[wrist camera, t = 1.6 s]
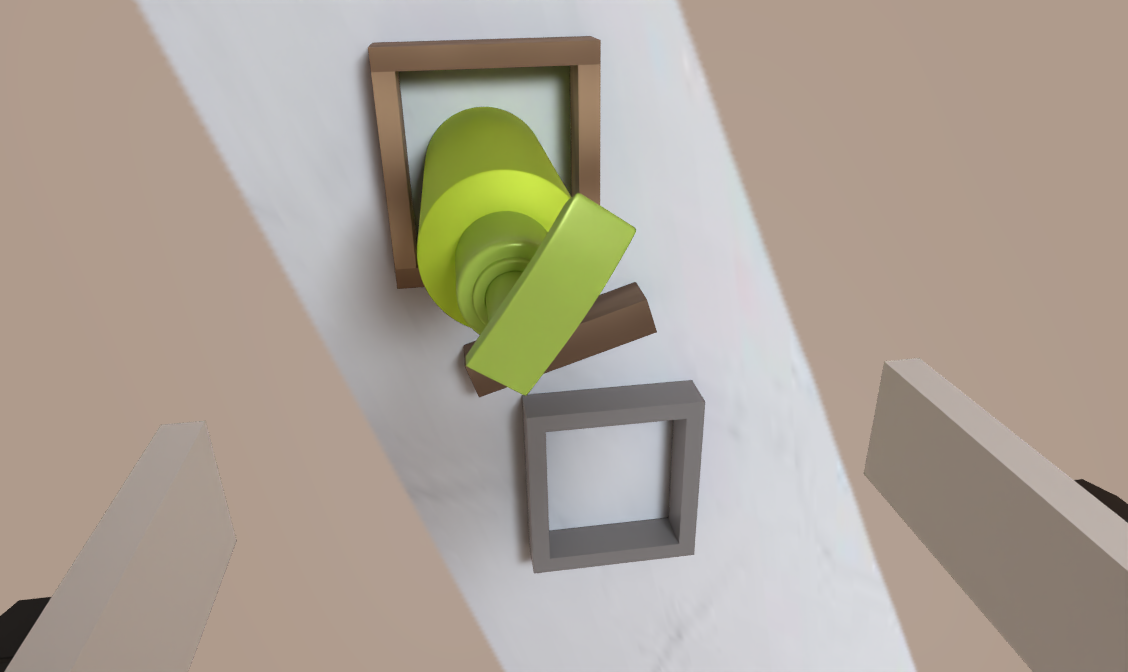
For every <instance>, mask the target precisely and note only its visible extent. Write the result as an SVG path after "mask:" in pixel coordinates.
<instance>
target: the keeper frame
mask: <svg viewBox="0 0 1128 672" xmlns="http://www.w3.org/2000/svg"><path fill="white" fill-rule="evenodd" d="M522 398H523V419H524V440H525V461H526V482H527V502H528V523H529V544H530V552H531V558H532V565H533V571H534V573H542V572H551V571H559V570H568V569H576V568H585V567H593V566H602V565H610V564H619V563H627V562H636V561H645V560H653V559H662V558H670V557H679V556H687V555H694V548H695V534H696V520H697V507H698V493H699V479H700V466H701V452H702V438H703V425H704V411H705V401H704V399H703V397H702V396H701V394H700V392H699V391H698V389H697V388H696V386H695V384H694V383H693V381H692V380H689V381H678V382H666V383H655V384H644V385H632V386H621V387H610V388H598V389H587V390H576V391H564V392H553V393H542V394H530V395H526V396H525V395H522ZM667 420H673V437H672V456H671V475H670V494H669V513H668V518H662V519H653V520H644V521H635V522H626V523H617V524H607V525H598V526H589V527H580V528H571V529H562V530H553V531H549V520H548V490H547V460H546V432H551V431H561V430H572V429H583V428H593V427H604V426H614V425H625V424H636V423H646V422H657V421H667Z"/></svg>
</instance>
